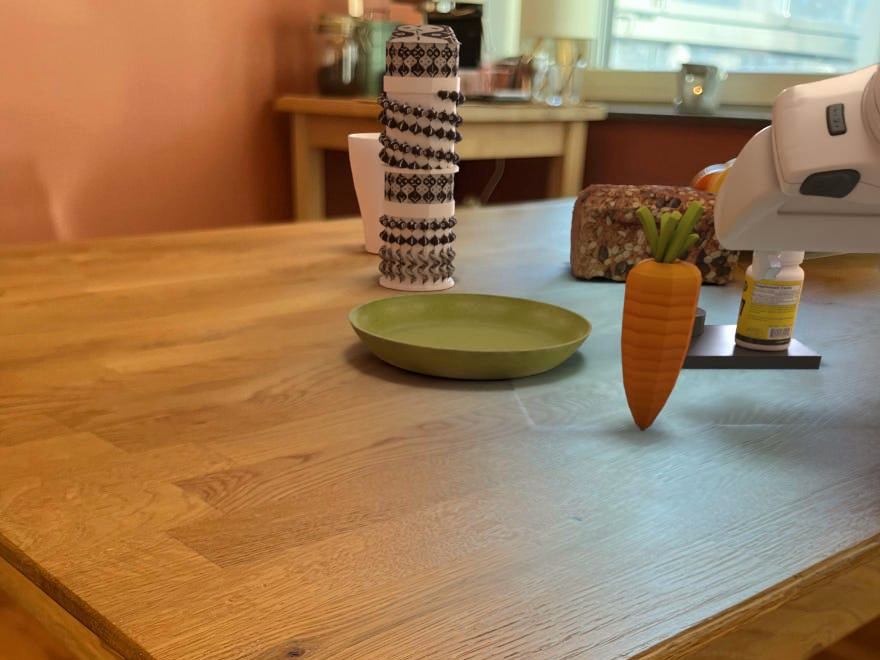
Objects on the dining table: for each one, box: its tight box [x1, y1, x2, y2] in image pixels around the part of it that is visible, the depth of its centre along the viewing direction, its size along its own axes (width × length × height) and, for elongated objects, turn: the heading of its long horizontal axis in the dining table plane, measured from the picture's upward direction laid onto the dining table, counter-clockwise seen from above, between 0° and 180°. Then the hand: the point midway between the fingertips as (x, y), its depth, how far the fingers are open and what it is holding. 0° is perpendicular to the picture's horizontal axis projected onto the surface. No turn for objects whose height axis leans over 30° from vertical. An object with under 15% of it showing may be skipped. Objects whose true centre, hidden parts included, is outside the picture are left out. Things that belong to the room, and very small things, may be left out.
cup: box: [347, 132, 385, 255], centre depth 129 cm, size 10×10×14 cm
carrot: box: [620, 201, 704, 432], centre depth 68 cm, size 5×5×15 cm
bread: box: [569, 183, 741, 285], centre depth 119 cm, size 19×11×10 cm, turn 86°
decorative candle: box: [376, 23, 467, 292], centre depth 108 cm, size 9×9×25 cm
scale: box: [681, 306, 823, 370], centre depth 90 cm, size 14×12×3 cm
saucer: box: [347, 292, 593, 381], centre depth 87 cm, size 21×21×3 cm
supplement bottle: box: [734, 250, 805, 351], centre depth 86 cm, size 5×5×8 cm
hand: (825, 274), depth 75 cm, fingers open, 8 cm apart
